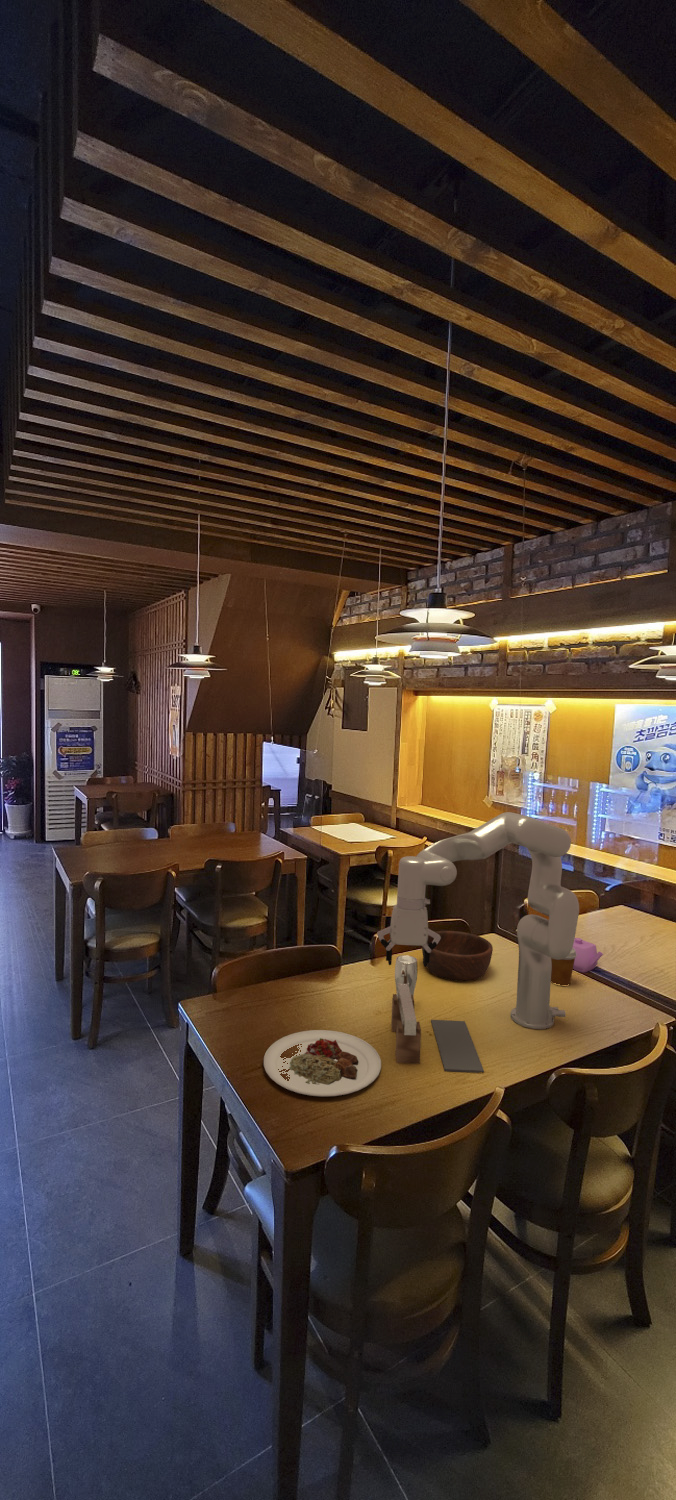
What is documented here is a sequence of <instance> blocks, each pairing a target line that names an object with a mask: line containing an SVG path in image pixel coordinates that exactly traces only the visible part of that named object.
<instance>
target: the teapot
mask: <svg viewBox="0 0 676 1500" xmlns="http://www.w3.org/2000/svg"><path fill="white" fill-rule="evenodd" d="M572 948H574V949H575V951H576V954H577V956H576V958H575V960H574V966H573V969H574V971H576V972H579V973H582V974H583V973H588V972H590V971H593V970H594V968H595V966H596V965H597V966H598V961H599V960H600V959H601V957H602V956H603V955H604V953H603V952H601V951H597V945H596V944H595V943H591V942H589V941H586V940H583V938H581V937H575V939H574V944H573V947H572ZM597 966H596V967H597ZM595 969H596V968H595Z"/></svg>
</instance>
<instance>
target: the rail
mask: <svg viewBox="0 0 676 1500" xmlns="http://www.w3.org/2000/svg"><path fill="white" fill-rule="evenodd" d="M396 995H397V998H398V1004H399V1009H400V1015H401V1020H402V1026H403V1031H404V1035H415V1036H416V1022H418V1021H417V1017H416V1012H415V1006H414V1007H413V1003H412V999H411V994H410V990H409V985H408V984H400V983H398V992H397V991H396Z"/></svg>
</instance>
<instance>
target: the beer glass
mask: <svg viewBox="0 0 676 1500" xmlns="http://www.w3.org/2000/svg"><path fill="white" fill-rule="evenodd" d="M394 981H395V991H396V993H397V992H398V983H400V984H408V985H409V990H410V994H411V995H413V998H414V997H415V988H416V985H417V981H418V959H417V958H416V957H414V956H412V955H398V956H396V958H395V966H394Z"/></svg>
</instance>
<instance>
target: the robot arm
mask: <svg viewBox="0 0 676 1500" xmlns="http://www.w3.org/2000/svg"><path fill="white" fill-rule="evenodd" d="M511 844H514V845H518V846H521V847H523V848H526V850H527V851H528V853H529V854H530V857H531V862H532V866H531V867H532V868H531V874H530V880H529V887H528V892H527V904H528V905H529V907H530V908H531V909H533V910H534V911H536V912H538V913H540V914H542V915H544V916H546V917H548V918H545V917H543V916H541V915H537V914H526V915H524V916H523V917H521V918H520V920H519V921H518V924H517V927H516V936H517V937H516V938H517V944H518V945H517V946H518V966H517V967H518V968H517V969H518V970H517V984H516V985H517V988H516V1005H515V1007H514V1008H512V1009H511V1011H510V1014H509V1015H510V1016H509V1017H510V1019H511V1020H512V1021H513V1022H514V1023H516V1024H517V1025H519V1026H522V1027H525V1028H528V1029H534V1030H547V1029H549V1028H552V1027H553V1026H554V1024H555V1017H559V1018H566V1016H567V1014H566V1010H564V1009H559V1007H558V1006H551V1005H550V999H551V986H552V985H551V984H552V982H551V972H552V961H551V958H553V959H556V960H561V959H564V958H566V957H567V956H568V955H569V954H570V952H571V950H572V947H573V944H574V939H575V938H576V932H577V927H578V921H579V913H580V902H579V899H578V897H577V895H576V894H575V893H574V892H573V891H572V890H571V889H569V888H566V887H564V886H562V885H561V882H562V880H561V879H562V875H563V874H562V873H563V872H562V871H563V864H562V863H563V862H562V858H561V857H563V856H564V855H566V854H567V853H568V852H569V851H570V848H571V845H572V840H571V836H570V835H569V833H568V831H566V830H565V829H563V828H562V827H558V826H556V825H552V824H550V823H547V822H544V821H542V820H539V819H536V818H534V817H531V816H528V815H525V814H521V813H515V812H511V811H508V812H507V811H506V812H503V813H500V814H498V815H496V816H495V817H493V818H491V819H489V820H488V821H486V822H485V823H483V824H481V825H480V826H478V827H476V828H474V829H473V830H470V831H468V832H466V833H462V834H457V835H454V836H451V837H447V838H444V839H441V840H439V841H436V842H433V843H432V844H431V845H429V846H427V847H425V848H424V849H423V850H421V851H419V853H417V855H416V856H413V855H412V856H411V855H407V856H403V857H401V858H400V860H399V862H398V877H397V894H396V897H397V898H396V904H394V905H393V907H392V911H391V916H390V926H387V927H386V928H383V929H380V930H378V931H377V932H376V933H377V934H376V935H377V937H378V940H379V941H380V943H381V945H382V946H383V948H384V949H385V951H386V953H385V961H386V962H388V966H391V965H392V961H393V959H392V958H393V949H392V948H393V947H394V946H395V945H401V946H402V945H403V946H417V947H418V946H419V947H420V946H421V947H422V946H423V947H424V948H425V949H424V951H423V953H422V965H423V967H424V968H427V963H429V957H430V952H431V951H432V950H433V949H434V948H435V947H436V946H437V944H438V942H439V941H440V939H441V937H440V935H439V934H437V933H435V932H436V931H434V930H431V928H429V920H428V910H427V909H428V908H427V907H426V906H427V905H430V904H431V899H430V898H429V899H428V898H427V897H426V886H436V887H437V886H439V887H445V886H448V885H451V884H452V883H453V882H454V881H455V880H456V878H457V874H458V871H457V868H456V865H455V864H454V862H458V861H478V860H485V859H487V858H489V857H490V856H492V855H494V854H495V853H497V852H498V851H500V850H501V849H504V848H505V847H507V846H509V845H511ZM388 934H389V938H390V939H389V940H388V941H387V940H386V939H385V938H384V936H385V935H388ZM428 935H430V936H432V937H433V938H434V940H433V941H432V942H431V943H430V944H428V943H427V942H428ZM552 1025H553V1026H552ZM551 1026H552V1027H551ZM546 1028H547V1029H546Z"/></svg>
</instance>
